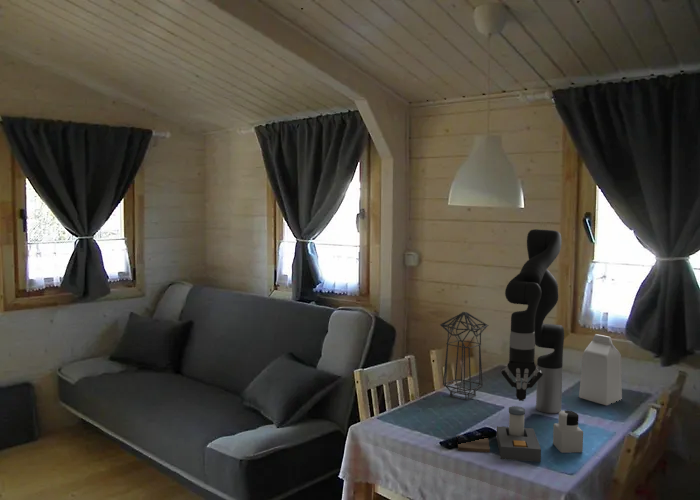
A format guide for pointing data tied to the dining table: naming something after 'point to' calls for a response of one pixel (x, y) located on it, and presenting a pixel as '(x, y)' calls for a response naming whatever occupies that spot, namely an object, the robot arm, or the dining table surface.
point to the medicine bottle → (568, 433)
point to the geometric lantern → (464, 352)
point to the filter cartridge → (516, 421)
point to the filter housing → (518, 453)
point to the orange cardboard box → (519, 443)
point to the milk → (601, 372)
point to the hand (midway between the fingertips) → (520, 399)
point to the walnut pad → (475, 445)
